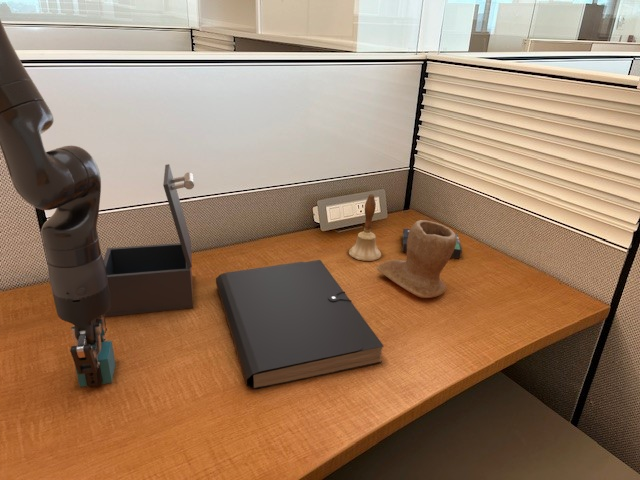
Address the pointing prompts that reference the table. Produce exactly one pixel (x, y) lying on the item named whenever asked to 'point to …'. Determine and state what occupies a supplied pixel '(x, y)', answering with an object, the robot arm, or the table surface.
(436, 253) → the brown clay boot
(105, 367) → the block
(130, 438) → the table surface
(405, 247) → the disk drive
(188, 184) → the bin lid
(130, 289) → the bin
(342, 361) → the dark grey notebook
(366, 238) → the hand bell
